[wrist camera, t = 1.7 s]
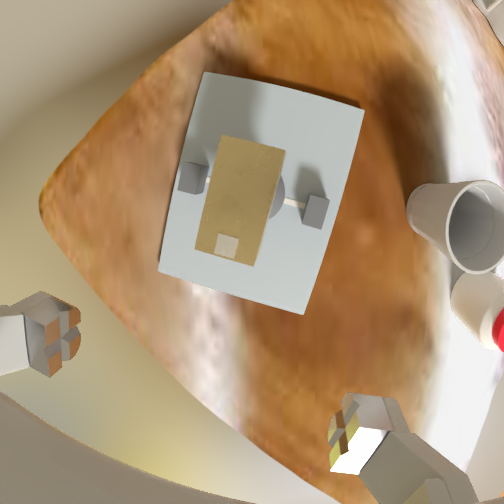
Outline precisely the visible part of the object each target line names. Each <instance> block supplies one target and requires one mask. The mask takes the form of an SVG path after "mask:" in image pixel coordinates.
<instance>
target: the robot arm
mask: <svg viewBox="0 0 504 504" xmlns="http://www.w3.org/2000/svg"><path fill="white" fill-rule="evenodd" d="M473 2H474V3H475V5H476V6H477V7H478V8H479V10H480V11H481V12H482V13H483V14H484V15H485V16H486V18H487V19H488V21H489V23H490V25H491V27H492V29H493V31H494V33H495V34H496V36H497V37H498V39H499V41H500V42H501V43H502V45H503V46H504V0H473ZM80 321H81V320H80V311H79V310H78V308H76V307H74V306H72V305H70V304H68V303H66V302H64V301H62V300H60V299H58V298H56V297H54V296H52V295H50V294H47V293H46V292H42V291H39V292H37V293H35V294H33V295H31V296H29V297H27V298H25V299H23V300H22V301H20V302H18V303H16V304H14V305H12V306H10V307H9V306H8V305H0V375H4V374H8V373H11V372H15V371H18V370H22V369H26V368H29V366H30V367H32V368H34V369H35V370H37V371H39V372H41V373H42V374H44V375H46V376H48V377H51V376H52V375H53V374H55V373H56V372H57V371H58V370H59V369H60V368H62V361H67V360H71V359H72V358H73V357H74V356H75V354H76V353H77V351H78V349H79V346H80V341H81V336H80V335H81V334H80V332H79V330H78V328H77V325H78V324H79V323H80ZM341 406H342V410H340V411H339V412H337V413H335V415H334V416H333V418H332V420H331V423H330V426H329V430H328V443H329V444H330V446H331V447H332V448H333V449H332V450H331V452H330V453H329V458H330V468H331V471H337V472H345V473H354V474H358V476H359V478H360V479H361V480H362V482H363V483H364V484H365V486H366V487H367V488H368V490H369V491H370V492H371V494H372V495H373V496H374V498H375V499H376V500H377V501H378V503H379V504H504V497H500V498H497V499H492V500H488V501H484V502H479V501H478V498H477V496H476V494H475V492H474V489H473V487H472V484H471V482H470V480H469V478H468V476H467V474H465V473H464V472H463V471H462V470H460V469H459V468H458V467H456V466H455V465H454V464H453V463H451V462H450V461H449V460H447V459H446V458H445V457H444V456H442V455H441V454H440V453H439V452H437V451H436V450H435V449H434V448H432V447H431V446H430V445H429V444H427V443H426V442H425V441H424V440H422V439H421V438H420V437H419V436H417V435H416V434H415V433H410V431H409V428H408V426H407V423H406V421H405V418H404V416H403V413H402V411H401V409H400V406H399V404H398V401H397V400H396V399H395V398H390V397H381V396H379V397H378V396H371V395H364V394H358V393H351V392H348V393H347V394H346V395H345V396H344V398H343V400H342V402H341ZM0 504H255V503H249V502H245V501H240V500H236V499H231V498H227V497H223V496H219V495H215V494H212V493H208V492H204V491H200V490H197V489H194V488H191V487H187V486H184V485H181V484H178V483H175V482H172V481H169V480H166V479H164V478H161V477H158V476H155V475H153V474H150V473H148V472H145V471H142V470H140V469H138V468H135V467H132V466H130V465H128V464H126V463H123V462H121V461H119V460H117V459H114V458H112V457H110V456H108V455H106V454H104V453H101V452H100V451H98V450H96V449H94V448H92V447H90V446H88V445H86V444H84V443H82V442H80V441H78V440H76V439H75V438H73V437H71V436H69V435H67V434H66V433H64V432H62V431H61V430H59V429H57V428H55V427H54V426H52V425H50V424H49V423H47V422H46V421H44V420H42V419H41V418H39V417H38V416H36V415H35V414H33V413H32V412H30V411H29V410H27V409H26V408H24V407H23V406H21V405H20V404H19V403H17V402H16V401H14V400H13V399H12V398H10V397H9V396H7V395H6V394H5V393H3V392H2V391H1V390H0Z"/></svg>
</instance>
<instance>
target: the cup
mask: <svg viewBox="0 0 504 504" xmlns="http://www.w3.org/2000/svg"><path fill="white" fill-rule="evenodd" d="M406 213H407V219H408V222H409V224H410V226H411V227H412V229H413V230H414V231H415V232H416V233H418V234H420V235H421V236H423V237H424V238H425V239H427V240H428V241H429V242H430V243H431V244H433V245H434V246H435V247H436V248H438V249H439V250H440V251H441V252H442V253H444V254H445V255H446V256H447V257H448V258H449V259H450V260H452V261H453V262H454V263H455V264H456V265H457V266H458V267H459V268H460V269H462V270H463V271H465V272H467V273H471V274H483V273H486V272H489V271H491V270H492V269H494V268H495V267H496V266H498V265H499V264H500V263H501V262H502V260H503V259H504V191H503V189H502V188H501V187H499V186H498V185H497V184H495V183H493V182H490V181H486V180H477V181H466V182H459V183H445V184H434V183H426V184H422V185H420V186H418V187H417V188H416V189H415V190H414V191H413V192H412V193H411V195H410V197H409V199H408V202H407V207H406Z"/></svg>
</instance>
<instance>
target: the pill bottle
mask: <svg viewBox="0 0 504 504" xmlns="http://www.w3.org/2000/svg"><path fill="white" fill-rule="evenodd" d="M450 305H451V310H452V312H453V314H454V315H455V317H456V318H457V319H458V320H459V321H460V322H461V323H462V324H463V325H464V326H465V327H466V328H467V329H468V330H469V331H470V332H471V333H472V334H473V335H474V337H475V338H476V339H477V340H478V341H479V342H480V343H481V344H482V345H483V346H484V347H485V348H487V349H488V350H499V349H500V350H501V351H503V352H504V279H503V278H501V277H499V276H498V275H496V274H494V273H493V272H491V271H489V272H486V273H483V274H471V273H467V272H464V273H463V274H462V275H461V276H460V277H459V279H458V280H457V281H456V283H455V285H454V287H453V290H452V293H451V299H450Z"/></svg>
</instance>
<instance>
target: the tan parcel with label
mask: <svg viewBox="0 0 504 504" xmlns="http://www.w3.org/2000/svg"><path fill="white" fill-rule="evenodd" d="M285 157H286V150H284V149H280V148H276V147H272V146H268V145H264V144H260V143H256V142H252V141H248V140H244V139H240V138H235V137H231V136H226V135H221V138H220V142H219V146H218V150H217V154H216V158H215V162H214V166H213V170H212V174H211V178H210V182H209V186H208V190H207V194H206V199H205V203H204V207H203V212H202V216H201V220H200V225H199V229H198V234H197V238H196V243H195V248H194V249H195V250H198V251H201V252H205V253H208V254H211V255H215V256H218V257H222V258H225V259H229V260H232V261H235V262H239V263H242V264H246V265H249V266H253V267H254V265H255V263H256V260H257V258H258V255H259V252H260V249H261V245H262V241H263V238H264V234H265V230H266V227H267V223H268V219H269V216H270V212H271V209H272V205H273V201H274V198H275V194H276V190H277V187H278V183H279V179H280V175H281V172H282V168H283V164H284V161H285Z"/></svg>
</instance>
